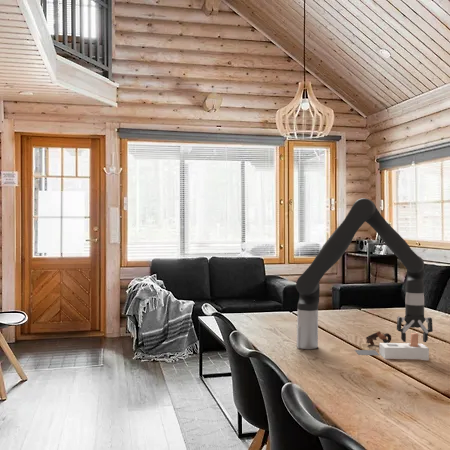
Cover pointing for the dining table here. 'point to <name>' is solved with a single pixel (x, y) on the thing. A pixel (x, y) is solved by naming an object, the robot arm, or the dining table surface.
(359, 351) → the mat
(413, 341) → the dowel
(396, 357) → the socket block
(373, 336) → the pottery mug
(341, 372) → the dining table surface
